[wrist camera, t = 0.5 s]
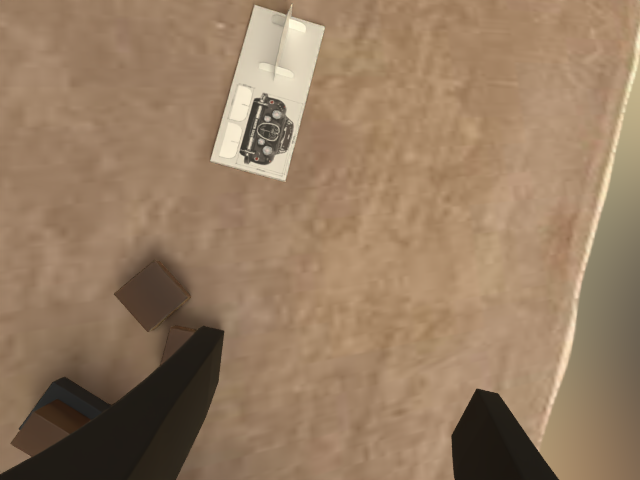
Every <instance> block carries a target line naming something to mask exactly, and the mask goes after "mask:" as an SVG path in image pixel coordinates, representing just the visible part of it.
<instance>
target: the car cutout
mask: <svg viewBox="0 0 640 480" xmlns="http://www.w3.org/2000/svg"><path fill="white" fill-rule="evenodd" d="M292 5H293V3H292V4H291V7H290V10H288V13H287V15H286V14H283V13H280V12H276V11H273V10H270V9H267V8H264V7H260V6H257V5H254V8H253V12H252V15H251V19H250V22H249V26H248V29H247V33H246V36H245V40H244V43H243V47H242V50H241V54H240V57H239V61H238V64H237V68H236V71H235V75H234V78H233V82H232V85H231V89H230V92H229V96H228V99H227V103H226V106H225V110H224V114H223V117H222V121H221V124H220V128H219V131H218V135H217V138H216V142H215V145H214V149H213V152H212V156H211V159H210V162H212V163H216V164H220V165H224V166H227V167H231V168H235V169H238V170H242V171H246V172H249V173H253V174H257V175H261V176H264V177H268V178H272V179H275V180H279V181H283V182H285V181H286V177H287V173H288V169H289V165H290V161H291V158H292V154H293V150H294V146H295V142H296V138H297V134H298V130H299V127H300V123H301V119H302V115H303V111H304V107H305V103H306V100H307V96H308V92H309V88H310V84H311V80H312V76H313V72H314V69H315V65H316V61H317V57H318V53H319V49H320V45H321V41H322V38H323V34H324V30H325V26H321V25H318V24H315V23H312V22H309V21H305V20H302V19H299V18H296V17H292V16H291V15H292Z"/></svg>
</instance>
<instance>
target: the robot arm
mask: <svg viewBox="0 0 640 480" xmlns="http://www.w3.org/2000/svg"><path fill="white" fill-rule="evenodd" d="M223 338H224V331H223V330H219V329H214V328H210V327H206V326H202V327H200V328H198V330H197V331H196V332H195V333H194V334H193V335H192V336H191V337H190V338H189V339H188V340H187V341H186V342H185V343H184V344H183V345H182V346H181V347H180V348H179V349H178V350H177V351H176V352H175V353H174V354H173V355H172V356H171V357H170V358H168V359H167V360H166V361H165V362H164V363H163V364H162V365H161V366H160V367H158V368H157V369H156V370H155V371H154V372H153V373H152V374H151V375H149V376H148V377H147V378H146V379H145V380H144V381H142V382H141V383H140V384H139V385H137V386H136V387H135V388H134V389H132V390H131V391H130V392H129V393H127V394H126V395H125V396H124V397H122V398H121V399H120V400H118V401H117V402H116V403H114V404H113V405H112V406H110V407H109V408H108V409H106V410H105V411H104V412H102V413H101V414H99V415H98V416H96V417H95V418H94V419H92V420H91V421H89V422H88V423H86V424H85V425H83V426H82V427H80V428H79V429H77V430H76V431H74V432H72V433H71V434H69V435H68V436H66V437H65V438H63V439H61V440H60V441H58V442H57V443H55V444H53V445H52V446H50V447H48V448H47V449H45V450H43V451H42V452H40V453H38V454H36V455H35V456H33V457H31V458H29V459H27V460H25V461H24V462H22V463H20V464H18V465H16V466H14V467H13V468H11V469H9V470H7V471H5V472H3V473H2V474H0V480H176V478H177V476H178V474H179V472H180V470H181V468H182V466H183V464H184V462H185V460H186V458H187V456H188V453H189V451H190V449H191V447H192V445H193V443H194V441H195V439H196V437H197V435H198V433H199V430H200V428H201V426H202V424H203V422H204V420H205V418H206V415H207V413H208V410H209V407H210V404H211V401H212V399H213V396H214V393H215V390H216V387H217V384H218V380H219V371H220V363H221V354H222V346H223ZM452 457H453V470H454V478H455V480H559V479H558V478H557V477H556V475H555V474H554V472H553V471H552V470H551V468H550V467H549V466H548V464H547V463H546V461H545V460H544V459H543V457H542V456H541V454H540V453H539V452H538V450H537V449H536V447H535V446H534V445H533V443H532V442H531V440H530V439H529V437H528V436H527V434H526V433H525V432H524V430H523V429H522V427H521V426H520V424H519V423H518V421H517V420H516V418H515V417H514V415H513V414H512V413H511V411H510V410H509V408H508V407H507V405H506V404H505V402H504V401H503V400H502V398H501V397H500V395H499V394H498V393H494V392H489V391H485V390H481V389H476V391H475V393H474V394H473V396H472V398H471V400H470V402H469V404H468V406H467V408H466V409H465V411H464V413H463V415H462V417H461V419H460V421H459V423H458V424H457V426H456V428H455V430H454V432H453V434H452Z"/></svg>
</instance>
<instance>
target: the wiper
mask: <svg viewBox="0 0 640 480" xmlns="http://www.w3.org/2000/svg"><path fill="white" fill-rule="evenodd" d="M109 407H110V405H109V404H107V403H106V402H104V401H102V400H101V399H99V398H98V397H96V396H94V395H93V394H91V393H90V392H88V391H86V390H85V389H83V388H82V387H80V386H78V385H77V384H75V383H74V382H72V381H70V380H69V379H67V378H66V377H63V378H61V379H59V380H56V381H54V382H53V383H52V384H51V385H50V387H49V388H48V389H47V391H46V392H45V394H44V395H43V396H42V398H41V399H40V400H39V402H38V403H37V405H36V406H35V407H34V409H33V410H32V411H31V413H30V414H29V416H28V417H27V418H26V420H25V421H24V422H23V424H22V425H21V426H20V428H19V430H20V431H19V432H18V434H17V435H16V437H15V438H14V439H13V441H12V442H11V444H12V445H13V446H15V447H17V448H18V449H20V450H21V451H23V452H25V453H26V454H28V455H30V456H31V457H33V456H35V455H36V454H38V453H40V452H42V451H43V450H45V449H47V448H48V447H50V446H52V445H53V444H55V443H57V442H58V441H60V440H61V439H63V438H65V437H66V436H68V435H69V434H71V433H72V432H74V431H76V430H77V429H79V428H80V427H82V426H83V425H85V424H86V423H88V422H89V421H91V420H92V419H94V418H95V417H96V416H98V415H99V414H101V413H102V412H104V411H105V410H106V409H108V408H109Z"/></svg>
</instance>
